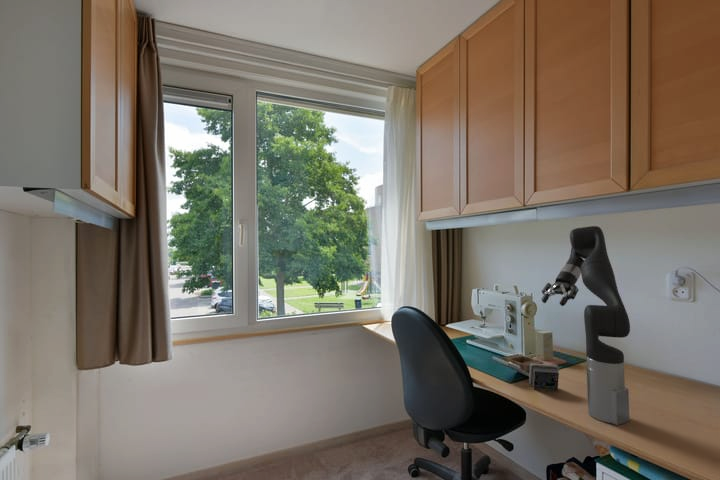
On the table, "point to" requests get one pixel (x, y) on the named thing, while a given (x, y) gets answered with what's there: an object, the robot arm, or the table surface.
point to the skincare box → (544, 345)
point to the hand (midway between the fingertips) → (552, 303)
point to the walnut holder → (521, 361)
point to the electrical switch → (544, 377)
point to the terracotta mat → (551, 361)
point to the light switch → (511, 366)
